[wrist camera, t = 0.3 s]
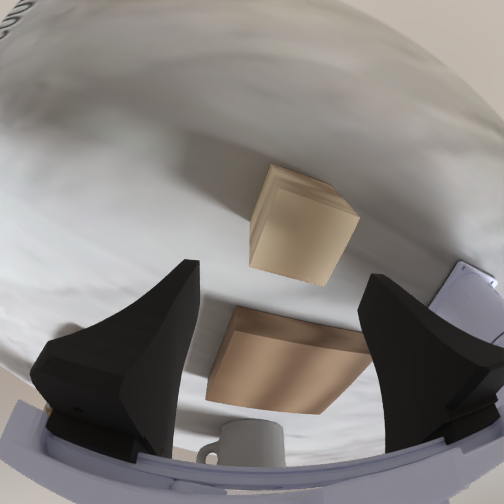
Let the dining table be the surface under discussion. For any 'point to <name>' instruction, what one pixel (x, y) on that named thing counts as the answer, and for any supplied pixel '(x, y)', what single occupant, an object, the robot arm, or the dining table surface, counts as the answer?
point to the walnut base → (284, 363)
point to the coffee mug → (248, 445)
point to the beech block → (299, 227)
